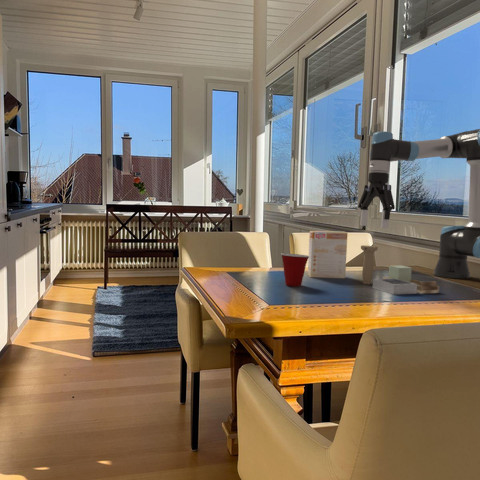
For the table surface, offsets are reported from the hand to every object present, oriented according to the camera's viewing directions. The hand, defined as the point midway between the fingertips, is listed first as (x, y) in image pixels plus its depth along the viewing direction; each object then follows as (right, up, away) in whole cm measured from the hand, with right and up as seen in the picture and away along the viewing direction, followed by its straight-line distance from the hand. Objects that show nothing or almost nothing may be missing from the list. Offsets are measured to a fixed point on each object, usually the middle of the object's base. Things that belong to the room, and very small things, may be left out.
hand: (373, 227), depth 176 cm
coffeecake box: (-16, -21, +16) cm, 31 cm away
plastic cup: (-32, -22, -7) cm, 40 cm away
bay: (+13, -23, -3) cm, 27 cm away
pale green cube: (+11, -22, +3) cm, 24 cm away
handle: (-2, -23, +2) cm, 23 cm away
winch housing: (+4, -24, -11) cm, 26 cm away
